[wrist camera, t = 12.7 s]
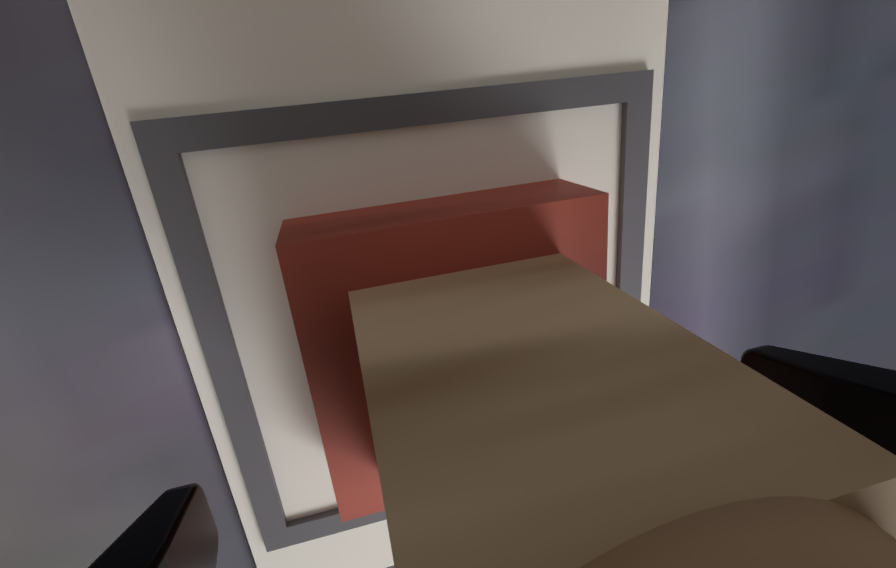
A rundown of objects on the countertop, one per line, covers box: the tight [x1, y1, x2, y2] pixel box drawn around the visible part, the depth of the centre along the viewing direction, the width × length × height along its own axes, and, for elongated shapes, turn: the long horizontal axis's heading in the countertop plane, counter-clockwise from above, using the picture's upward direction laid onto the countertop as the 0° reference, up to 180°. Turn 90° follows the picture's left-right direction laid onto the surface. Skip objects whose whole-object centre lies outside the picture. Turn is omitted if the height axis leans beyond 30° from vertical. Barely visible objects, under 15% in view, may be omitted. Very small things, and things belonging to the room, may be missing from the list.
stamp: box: [275, 179, 896, 568], centre depth 7 cm, size 6×6×9 cm
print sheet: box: [67, 0, 669, 568], centre depth 11 cm, size 14×11×1 cm
